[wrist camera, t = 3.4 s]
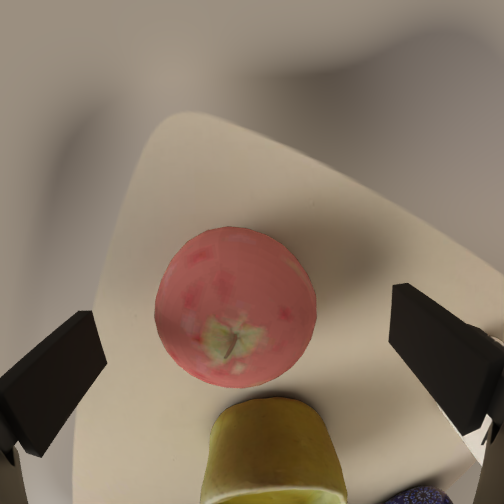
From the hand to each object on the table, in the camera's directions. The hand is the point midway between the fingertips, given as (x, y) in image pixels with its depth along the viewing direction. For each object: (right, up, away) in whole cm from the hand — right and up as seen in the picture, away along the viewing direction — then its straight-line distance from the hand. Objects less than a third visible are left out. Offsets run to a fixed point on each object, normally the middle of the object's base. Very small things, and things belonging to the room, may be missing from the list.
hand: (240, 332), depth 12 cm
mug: (+1, -12, +9) cm, 15 cm away
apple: (0, +2, +6) cm, 6 cm away
